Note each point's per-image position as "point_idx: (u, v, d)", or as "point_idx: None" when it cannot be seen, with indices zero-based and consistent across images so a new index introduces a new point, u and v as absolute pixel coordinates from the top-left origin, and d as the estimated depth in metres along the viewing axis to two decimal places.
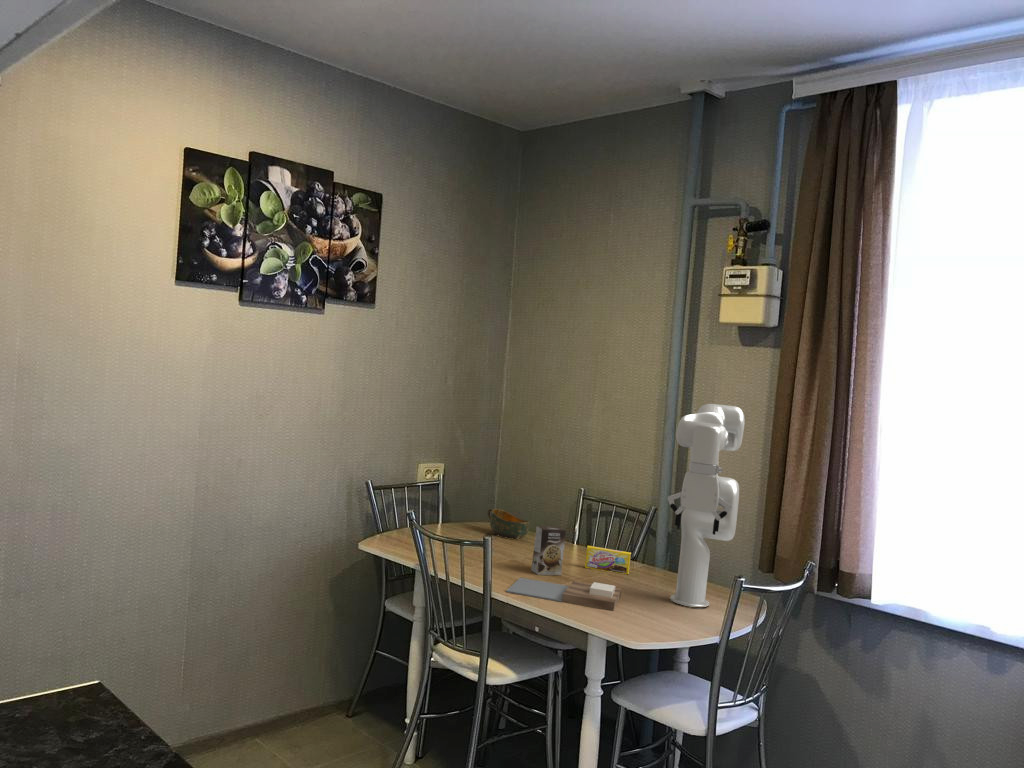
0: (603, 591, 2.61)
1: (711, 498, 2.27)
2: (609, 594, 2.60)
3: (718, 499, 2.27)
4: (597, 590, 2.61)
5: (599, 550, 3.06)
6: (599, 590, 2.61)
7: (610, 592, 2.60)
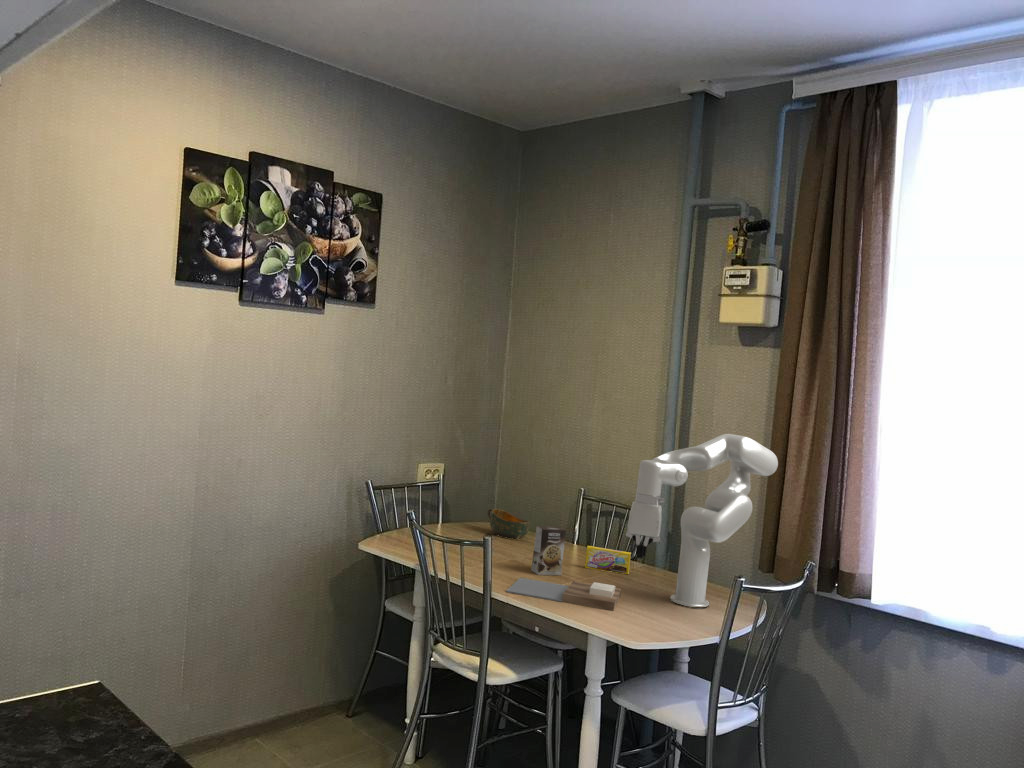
0: (603, 591, 2.61)
1: (654, 525, 2.59)
2: (609, 594, 2.60)
3: (660, 526, 2.59)
4: (597, 590, 2.61)
5: (599, 550, 3.06)
6: (599, 590, 2.61)
7: (610, 592, 2.60)
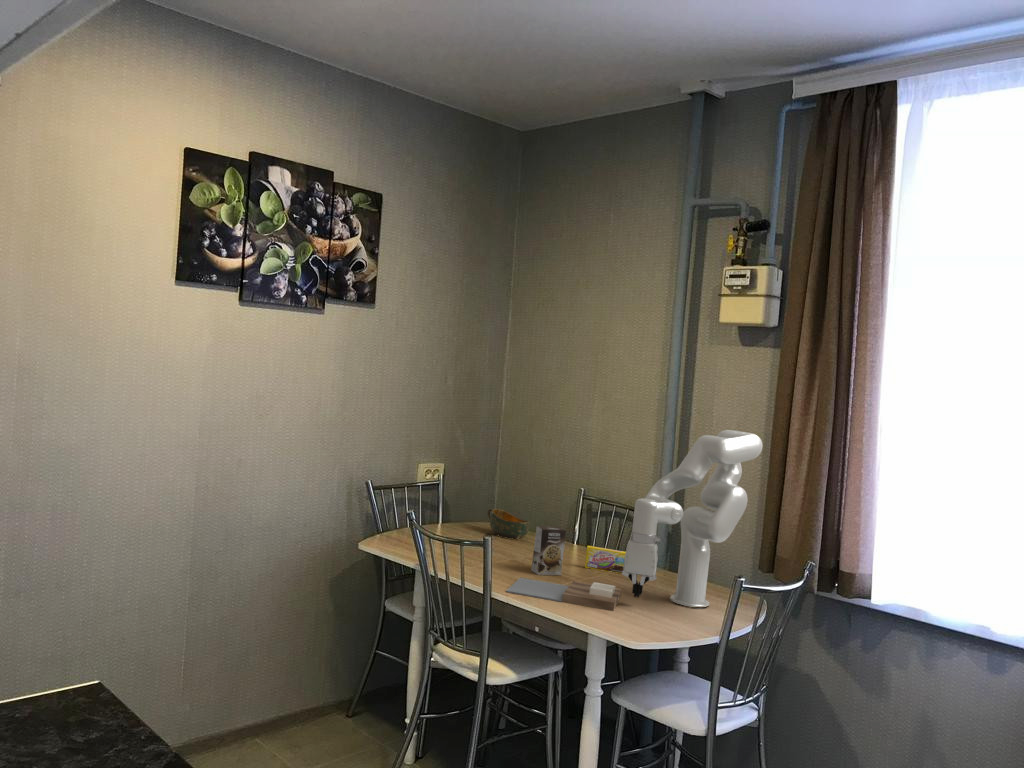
0: (603, 591, 2.61)
1: (650, 564, 2.59)
2: (609, 594, 2.60)
3: (656, 565, 2.60)
4: (597, 590, 2.61)
5: (599, 550, 3.06)
6: (599, 590, 2.61)
7: (610, 592, 2.60)
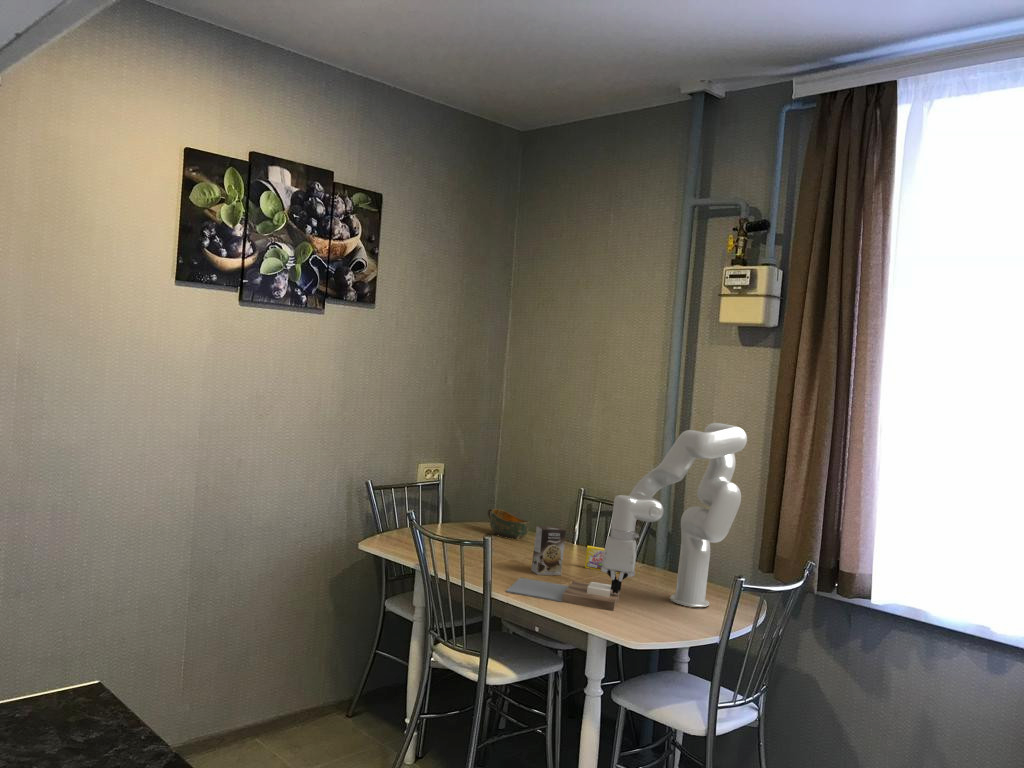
0: (600, 590, 2.61)
1: (628, 560, 2.61)
2: (606, 593, 2.61)
3: (634, 561, 2.61)
4: (594, 589, 2.62)
5: (599, 550, 3.06)
6: (596, 589, 2.61)
7: (607, 591, 2.61)
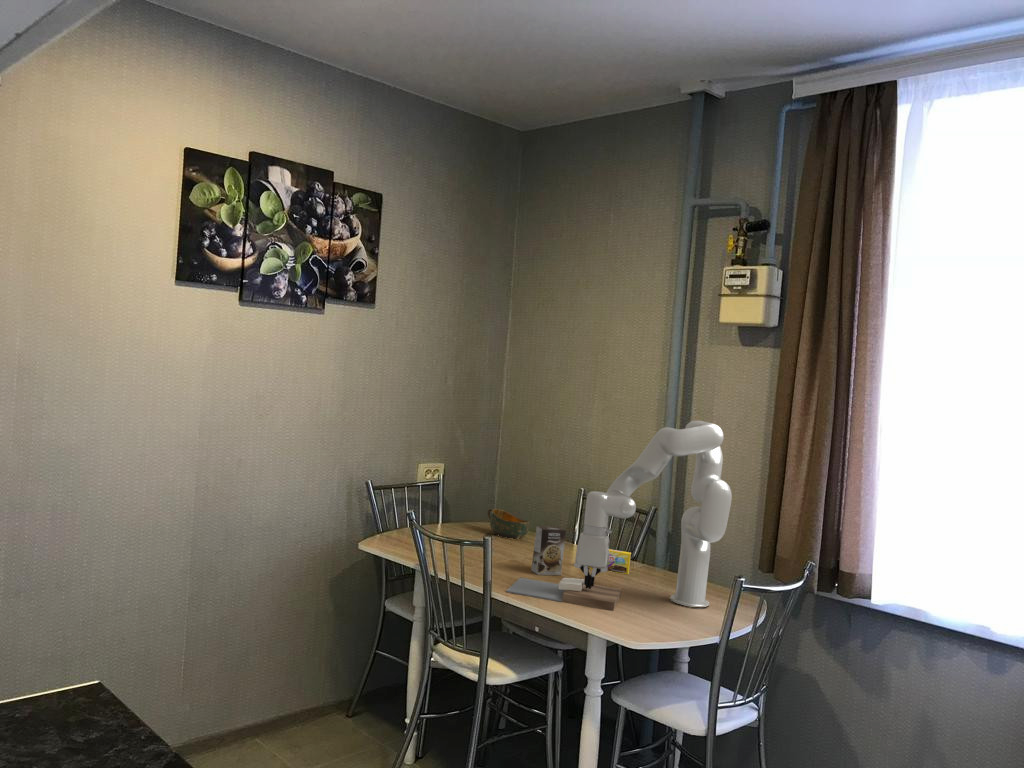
0: (572, 585, 2.63)
1: (601, 556, 2.63)
2: (578, 588, 2.63)
3: (607, 557, 2.63)
4: (566, 585, 2.64)
5: None
6: (568, 584, 2.63)
7: (579, 585, 2.63)
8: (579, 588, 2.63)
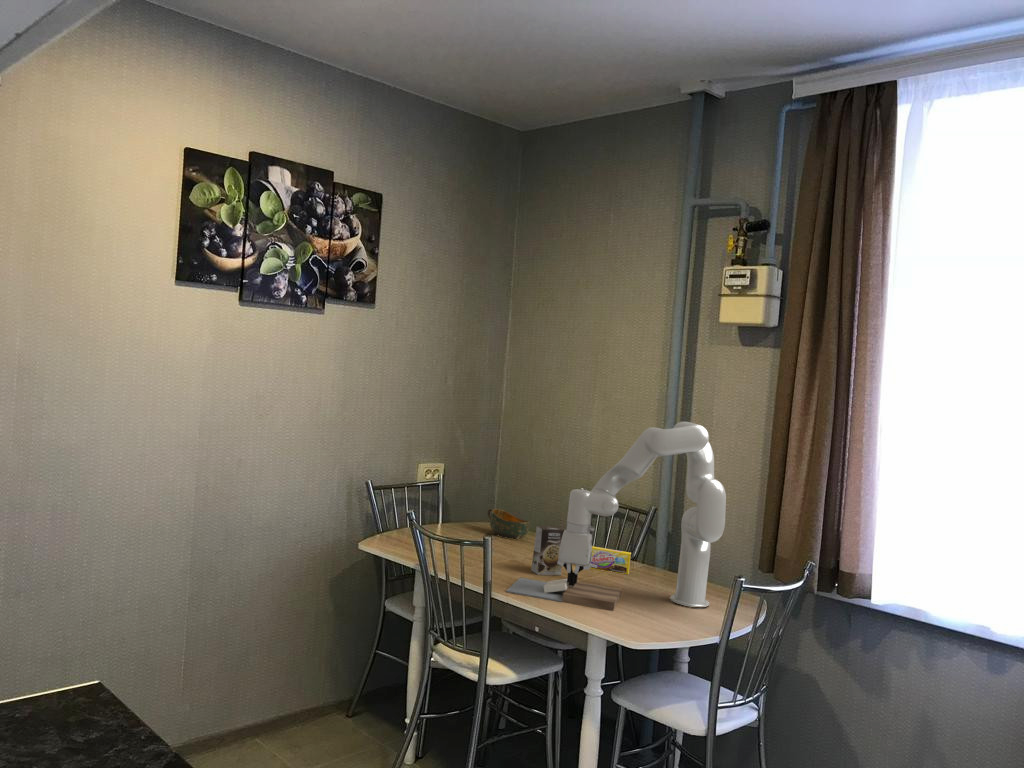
0: (556, 586, 2.64)
1: (583, 553, 2.64)
2: (563, 587, 2.64)
3: (590, 554, 2.65)
4: (551, 587, 2.65)
5: (599, 550, 3.06)
6: (552, 586, 2.64)
7: (563, 585, 2.64)
8: (564, 587, 2.64)
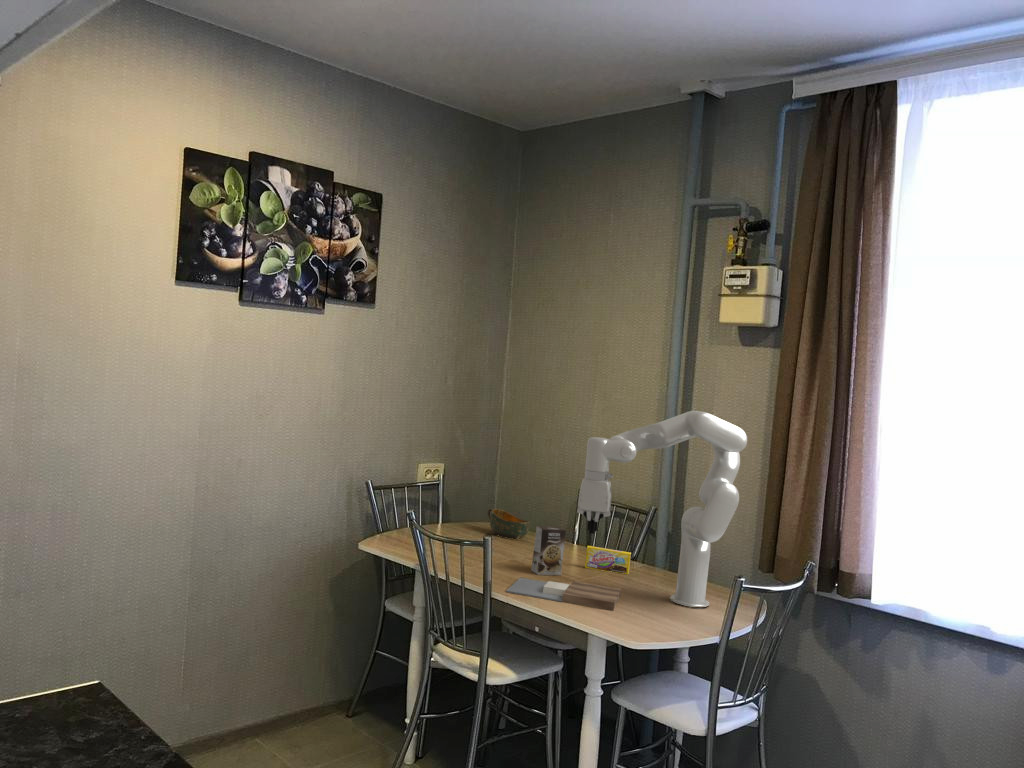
0: (556, 590, 2.64)
1: (603, 500, 2.64)
2: (562, 593, 2.64)
3: (609, 501, 2.64)
4: (550, 589, 2.65)
5: (599, 550, 3.06)
6: (552, 589, 2.64)
7: (563, 591, 2.63)
8: None
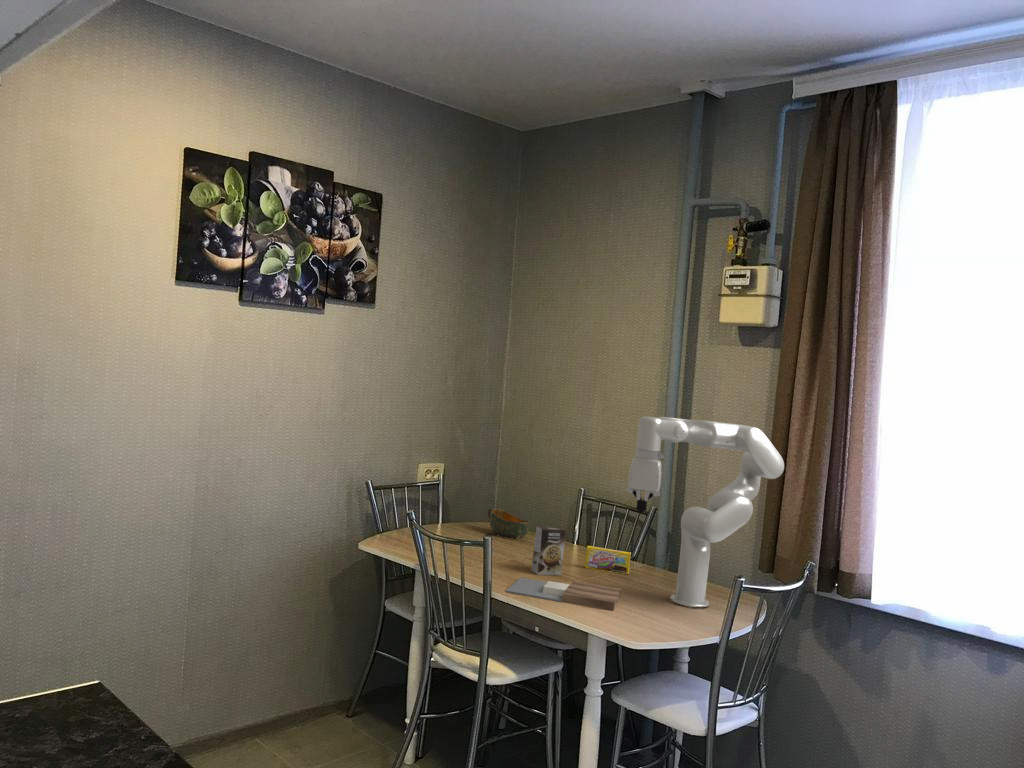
0: (556, 590, 2.64)
1: (654, 480, 2.63)
2: (562, 593, 2.64)
3: (660, 481, 2.63)
4: (550, 589, 2.65)
5: (599, 550, 3.06)
6: (552, 589, 2.64)
7: (563, 591, 2.63)
8: None
